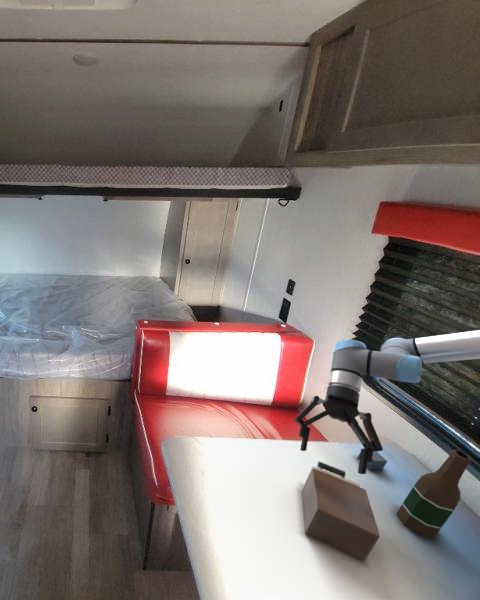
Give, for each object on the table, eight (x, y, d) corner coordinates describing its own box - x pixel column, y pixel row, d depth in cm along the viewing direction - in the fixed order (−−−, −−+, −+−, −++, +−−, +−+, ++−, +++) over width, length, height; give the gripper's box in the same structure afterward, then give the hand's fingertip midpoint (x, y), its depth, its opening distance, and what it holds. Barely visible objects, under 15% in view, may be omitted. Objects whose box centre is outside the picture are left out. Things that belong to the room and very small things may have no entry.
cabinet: (300, 493, 90) (312, 468, 87) (350, 515, 86) (365, 489, 82) (303, 536, 79) (317, 508, 76) (362, 564, 75) (380, 536, 71)
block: (368, 460, 105) (374, 449, 103) (381, 471, 101) (387, 461, 99) (356, 460, 104) (361, 449, 102) (368, 471, 100) (374, 461, 98)
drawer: (302, 474, 96) (311, 453, 93) (344, 491, 91) (355, 471, 89) (306, 523, 81) (318, 501, 79) (357, 547, 77) (371, 525, 74)
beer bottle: (397, 527, 84) (444, 456, 75) (391, 505, 90) (435, 436, 81) (439, 548, 80) (494, 475, 71) (430, 523, 86) (480, 452, 77)
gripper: (390, 408, 96) (381, 483, 89) (292, 377, 107) (277, 442, 100) (404, 403, 90) (396, 484, 83) (298, 371, 101) (283, 440, 94)
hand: (331, 461), depth 92 cm, fingers open, 13 cm apart
